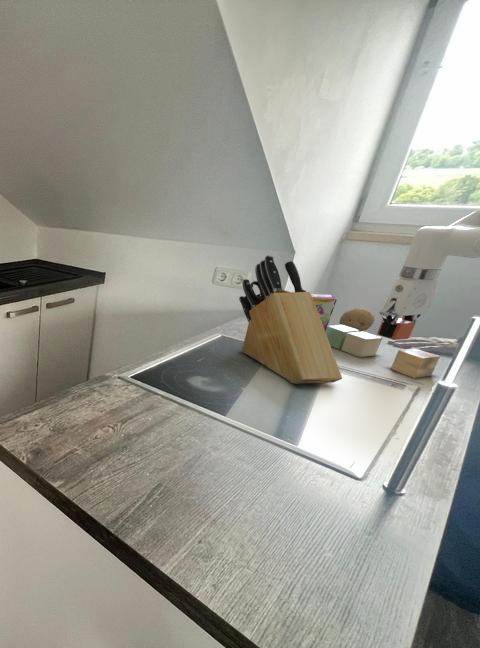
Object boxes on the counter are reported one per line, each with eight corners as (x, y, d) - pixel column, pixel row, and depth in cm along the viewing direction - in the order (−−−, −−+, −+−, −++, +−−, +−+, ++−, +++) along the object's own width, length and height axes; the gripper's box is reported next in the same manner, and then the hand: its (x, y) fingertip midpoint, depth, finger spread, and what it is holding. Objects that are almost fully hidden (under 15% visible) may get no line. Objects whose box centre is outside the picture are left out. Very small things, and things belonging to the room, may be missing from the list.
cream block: (356, 348, 128) (362, 331, 126) (375, 355, 123) (382, 337, 120) (341, 350, 127) (347, 332, 125) (359, 357, 122) (366, 339, 119)
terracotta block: (390, 333, 117) (396, 317, 115) (408, 338, 113) (416, 322, 111) (376, 334, 117) (382, 318, 115) (394, 340, 112) (401, 323, 110)
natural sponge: (360, 341, 133) (371, 313, 129) (330, 334, 140) (339, 307, 136) (372, 336, 137) (382, 309, 133) (341, 329, 145) (350, 303, 140)
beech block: (407, 367, 114) (415, 348, 112) (431, 375, 109) (440, 356, 107) (390, 369, 114) (398, 350, 111) (413, 377, 108) (422, 358, 106)
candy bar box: (283, 342, 134) (296, 296, 128) (279, 337, 139) (292, 292, 132) (322, 345, 131) (338, 298, 124) (316, 340, 135) (331, 294, 129)
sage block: (336, 340, 134) (342, 324, 132) (353, 347, 129) (359, 330, 126) (321, 342, 133) (326, 325, 131) (338, 348, 128) (344, 331, 126)
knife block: (256, 341, 136) (280, 251, 124) (340, 388, 104) (383, 272, 91) (224, 342, 136) (245, 252, 123) (298, 389, 104) (336, 274, 91)
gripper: (408, 278, 103) (382, 342, 110) (460, 274, 105) (431, 337, 113) (378, 272, 109) (356, 333, 117) (428, 269, 112) (402, 328, 119)
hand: (393, 334), depth 115 cm, fingers closed on terracotta block, 5 cm apart
